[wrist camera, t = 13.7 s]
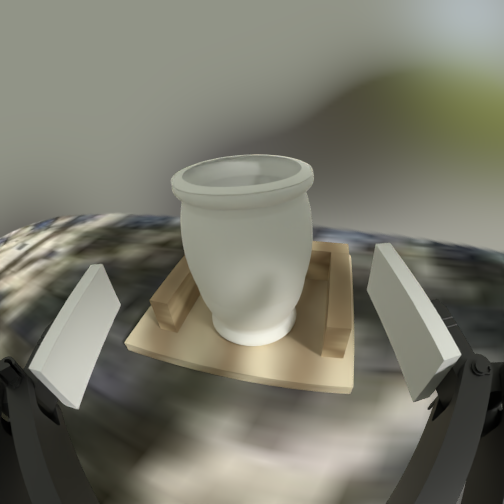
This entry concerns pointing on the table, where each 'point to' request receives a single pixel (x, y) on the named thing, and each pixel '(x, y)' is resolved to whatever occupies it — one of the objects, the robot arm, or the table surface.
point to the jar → (247, 241)
